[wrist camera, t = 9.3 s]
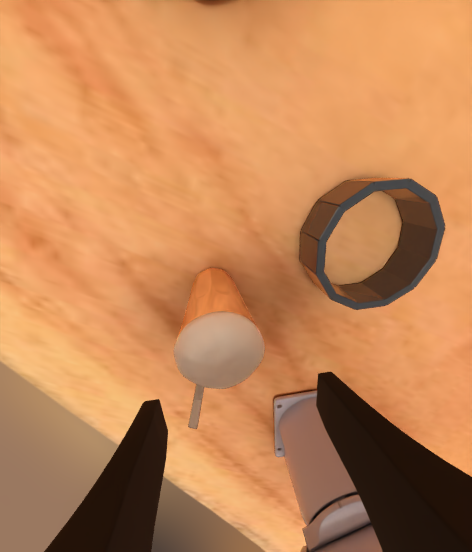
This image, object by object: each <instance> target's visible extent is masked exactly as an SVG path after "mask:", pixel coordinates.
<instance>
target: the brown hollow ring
mask: <svg viewBox="0 0 472 552" xmlns="http://www.w3.org/2000/svg"><path fill="white" fill-rule="evenodd" d="M374 191H383V192H385V193H386V194H388V195H390V196H391V197H393V198H394V199H395V200H396V203H397V206H398V209H399V212H400V214H401V217H402V220H403V224H402V229H401V235H400V240H399V245H398V248H397V249H396V251H395V252H394V254H393V255H392V256H391V258H390V259H389V261H388V262H387V263H386V265H385V266H384V268H383V269H382V270H380V271H379V272H377V273H376V274H374V275H372V276H371V277H369V278H368V279H366V280H364V281H363V282H361V283H356V284H348V285H340V286H337V285H335V284H333V283H330V281H329V279H328V277H327V276H326V274H325V272H324V267H325V253H326V242H327V240H328V238H329V237H330V235H331V233H332V232H333V230H334V228H335V227H336V225H337V223H338V222H339V220H340V218H341V217H342V215H343V213H344V212H345V211H346V210H348V209H349V208H351V207H352V206H354V205H355V204H357V203H358V202H359V201H361V200H362V199H364V198H365V197H367V196H368V195H370V194H371V193H373V192H374ZM301 230H302V231H301V233H300V262H301V264H302V265H303V267H304V269H305V270H306V272H307V274H308V275H309V277H310V279H311V280H312V282H313V283H314V284H315V285H316V286H317V287H318V288H319V289H320V290H321V291H322V292H324V293H325V294H326V295H327V296H328V297H329V298H330V299H331V300H333V301H335V302H338V303H340V304H343V305H345V306H347V307H350V308H352V309H356V310H359V309H367V308H374V307H381V306H385V305H388V304H390V303H391V302H393V301H395V300H396V299H398V298H400V297H401V296H403V295H405V294H406V293H408V292H409V291H411V290H413V289H414V287H416V286H417V285H418V283H419V282H420V281H421V280H422V278H423V277H424V276H425V274H426V273H427V272H428V271H429V269H430V268H431V267H432V265H433V264H434V263H435V262H436V259H437V257H438V253H439V249H440V246H441V242H442V238H443V234H444V231H445V223H444V219H443V216H442V212H441V208H440V205H439V201H438V198H437V197H436V195H435V194H433V193H432V192H430V191H429V190H427V189H426V188H424V187H423V186H421V185H420V184H418V183H417V182H415V181H414V180H412V179H409V178H367V179H355V180H347V181H345V182H343V183H342V184H340V185H339V186H337V187H336V188H335V189H333V190H332V191H330V192H329V193H327V194H326V195H325V196H323V197H322V198H320V199H319V200H318V201H317V202H316V204H315V206H314V207H313V209H312V211H311V213H310V215H309V216H308V218H307V220H306V222H305V223H304V225H303V227H302V229H301Z"/></svg>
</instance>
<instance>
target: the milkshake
mask: <svg viewBox="0 0 472 552" xmlns="http://www.w3.org/2000/svg"><path fill="white" fill-rule="evenodd" d="M264 351H265V345H264V341H263V338H262V335H261V333H260V331H259V329H258V327H257V326H256V324H255V322H254V320H253V318H252V317H251V315H250V313H249V311H248V309H247V308H246V306H245V303H244V301H243V299H242V297H241V295H240V293H239V291H238V289H237V287H236V285H235V283H234V281H233V279H232V277H231V276H229V275H228V274H227V273H226V272H225V271H224V270H223V269H217V268H208V269H206V270H204V271H202V272H200V273H199V274H198V275H197V277H196V279H195V281H194V283H193V285H192V289H191V293H190V297H189V300H188V304H187V308H186V312H185V316H184V319H183V322H182V325H181V328H180V331H179V334H178V337H177V340H176V343H175V346H174V357H175V361H176V364H177V367H178V369H179V371H180V373H181V374H182V375H183V376H184V377H185V378H187V379H188V380H190V381H191V382H193V383H195V384H196V388H195V393H194V399H193V404H192V409H191V414H190V419H189V425H188V427H189V428H193V429H197V427H198V422H199V416H200V410H201V404H202V398H203V392H204V387H207V388H216V389H226V388H229V387H232V386H235V385H237V384H239V383H241V382H242V381H244V380H245V379H247V378H248V377H249V376H250V375H251V374H252V373H253V372H254V371H255V369H256V368H257V367H258V366H259V364H260V363H261V361H262V359H263V356H264Z"/></svg>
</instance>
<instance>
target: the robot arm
mask: <svg viewBox="0 0 472 552" xmlns="http://www.w3.org/2000/svg"><path fill="white" fill-rule="evenodd" d="M167 437H168V429H167V426H166V422H165V419H164V415H163V411H162V408H161V404H160V401H159V399H157V400H151V401H145V402H144V403H143V404H142V406H141V408H140V410H139V412H138V414H137V415H136V417H135V419H134V421H133V423H132V425H131V426H130V428H129V430H128V432H127V433H126V435H125V437H124V438H123V440H122V442H121V443H120V445H119V447H118V448H117V450H116V452H115V453H114V455H113V457H112V458H111V460H110V462H109V463H108V464H107V466H106V468H105V469H104V471H103V472H102V474H101V475H100V477H99V478H98V480H97V481H96V483H95V484H94V486H93V487H92V489H91V490H90V491H89V493H88V495H87V496H86V497H85V499H84V500H83V501H82V503H81V504H80V506H79V507H78V508H77V510H76V511H75V512H74V514H73V515H72V516H71V518H70V519H69V521H68V522H67V523H66V525H65V526H64V527H63V528H62V530H61V531H60V532H59V533H58V535H57V536H56V537H55V539H54V540H53V541H52V543H51V544H50V545H49V546H48V548H47V549H46V550H45V551H44V552H151V549H152V540H153V533H154V526H155V520H156V514H157V508H158V502H159V497H160V491H161V485H162V479H163V473H164V467H165V461H166V452H167ZM274 440H275V455H276V457H283V456H284V457H285V460H286V463H287V467H288V470H289V474H290V477H291V481H292V484H293V487H294V491H295V494H296V498H297V501H298V505H299V508H300V511H301V514H302V517H303V519H304V521H305V523H306V525H307V526H306V527H304V528H303V533H304V537H305V540H306V544H307V545H306V546H304V547H303V548H302V549H301V552H472V477H471V476H469V475H467V474H466V473H464V472H463V471H461V470H459V469H458V468H456V467H454V466H453V465H451V464H450V463H448V462H446V461H445V460H443V459H442V458H440V457H439V456H437V455H435V454H434V453H432V452H431V451H430V450H428V449H427V448H425V447H424V446H422V445H421V444H419V443H418V442H416V441H415V440H414V439H412V438H411V437H409V436H408V435H407V434H405V433H404V432H403V431H401V430H400V429H399V428H397V427H396V426H395V425H393V424H392V423H391V422H390V421H388V420H387V419H386V418H384V417H383V416H382V415H381V414H379V413H378V412H377V411H376V410H375V409H373V408H372V407H371V406H370V405H369V404H367V403H366V402H365V401H364V400H363V399H362V398H360V397H359V396H358V395H357V394H356V393H355V392H354V391H352V390H351V389H350V388H349V387H348V386H347V385H346V384H345V383H343V382H342V381H341V380H340V379H339V378H338V377H337V376H336V375H335V374H333V373H332V372H325V373H319V374H318V385H317V390H316V391H310V392H304V393H298V394H292V395H286V396H280V397H276V398H275V399H274Z"/></svg>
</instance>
